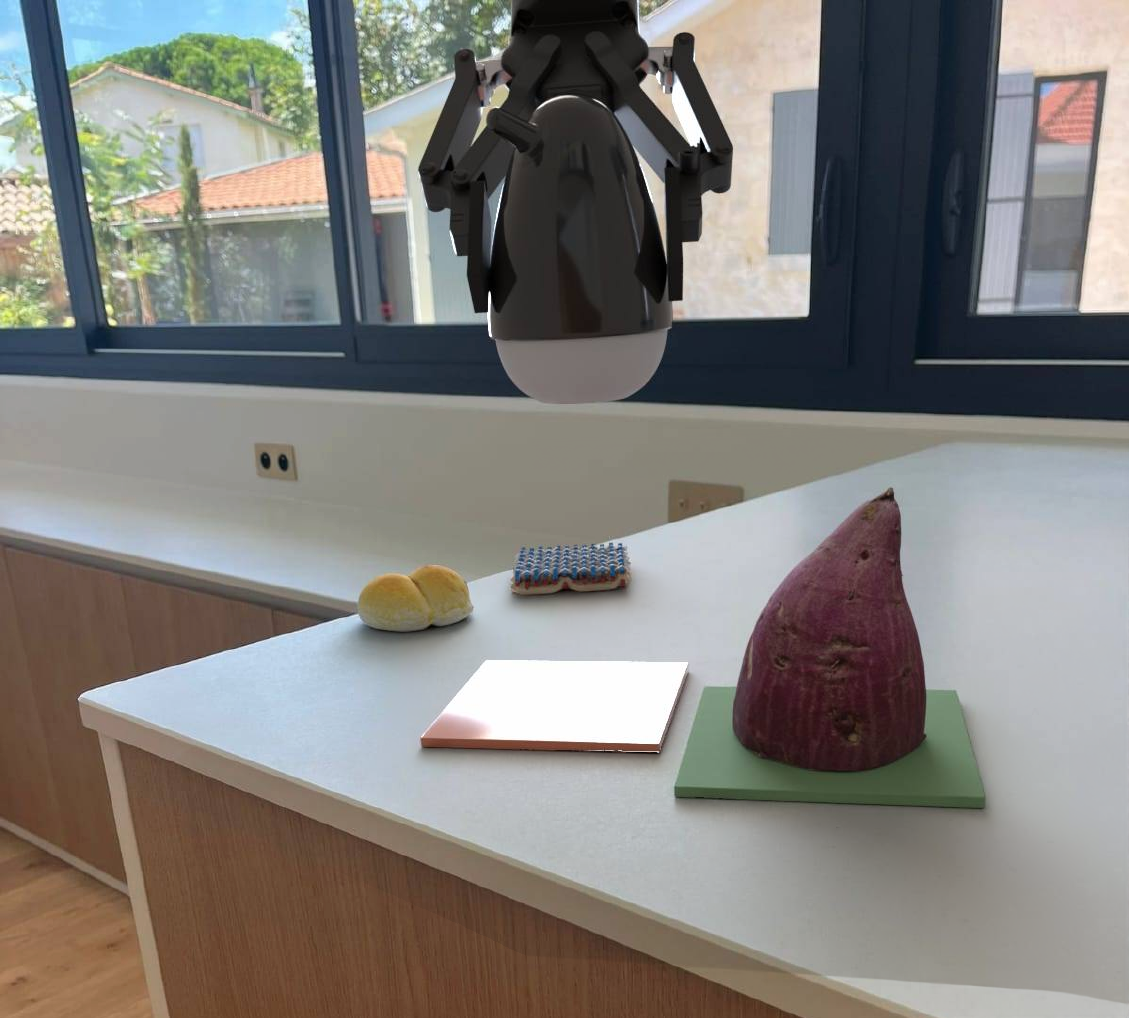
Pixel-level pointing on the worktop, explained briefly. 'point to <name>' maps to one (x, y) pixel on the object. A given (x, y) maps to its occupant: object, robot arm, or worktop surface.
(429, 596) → the bread roll
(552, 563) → the woven mat
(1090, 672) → the worktop surface
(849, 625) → the vegetable
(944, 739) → the green mat
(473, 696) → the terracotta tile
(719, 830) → the worktop surface
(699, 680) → the worktop surface
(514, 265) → the pump dispenser
